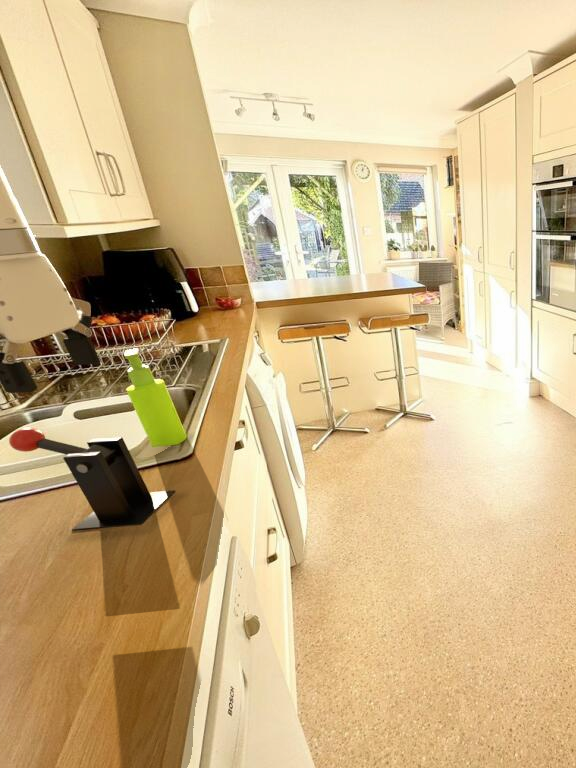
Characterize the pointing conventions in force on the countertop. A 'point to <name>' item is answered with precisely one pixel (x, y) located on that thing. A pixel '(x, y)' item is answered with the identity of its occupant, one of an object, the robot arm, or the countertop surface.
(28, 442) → the lever
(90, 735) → the countertop surface
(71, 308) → the robot arm
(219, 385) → the countertop surface
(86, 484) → the bracket
